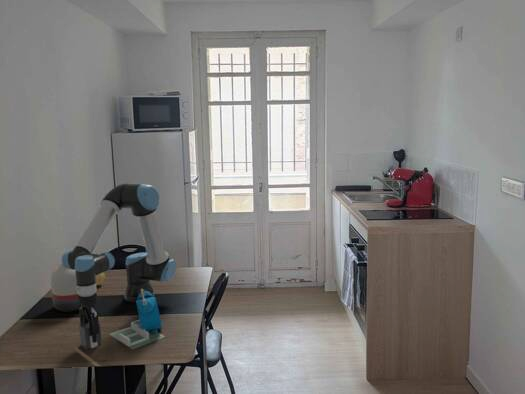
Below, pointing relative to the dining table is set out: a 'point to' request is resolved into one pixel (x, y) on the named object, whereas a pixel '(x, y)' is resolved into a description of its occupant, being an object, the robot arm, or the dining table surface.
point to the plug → (87, 336)
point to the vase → (64, 289)
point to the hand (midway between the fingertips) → (91, 346)
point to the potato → (99, 278)
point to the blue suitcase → (148, 311)
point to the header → (141, 332)
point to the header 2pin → (135, 325)
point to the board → (129, 331)
